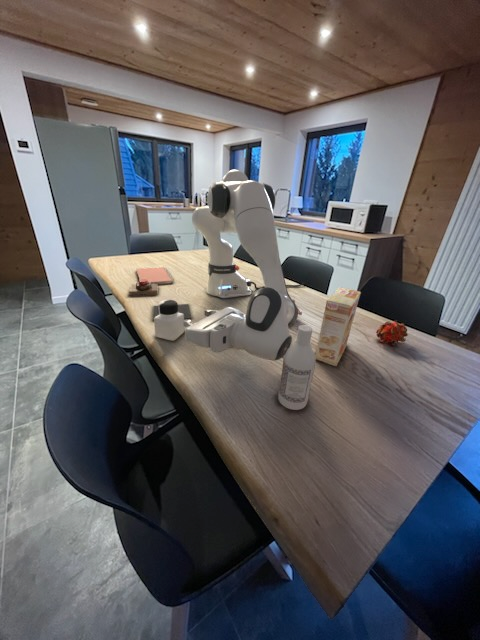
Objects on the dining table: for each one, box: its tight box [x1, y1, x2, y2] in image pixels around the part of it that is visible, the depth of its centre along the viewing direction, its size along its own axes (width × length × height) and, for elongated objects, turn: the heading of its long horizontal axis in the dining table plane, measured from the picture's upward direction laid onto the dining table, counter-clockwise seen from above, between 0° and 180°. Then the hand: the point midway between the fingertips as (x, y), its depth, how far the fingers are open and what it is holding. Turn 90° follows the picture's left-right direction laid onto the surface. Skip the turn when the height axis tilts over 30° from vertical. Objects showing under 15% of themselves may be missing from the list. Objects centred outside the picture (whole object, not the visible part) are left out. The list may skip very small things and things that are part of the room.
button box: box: [128, 281, 159, 297], centre depth 125 cm, size 12×10×4 cm
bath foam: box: [277, 324, 316, 411], centre depth 60 cm, size 7×7×20 cm
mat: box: [152, 303, 192, 322], centre depth 106 cm, size 14×14×1 cm
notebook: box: [136, 266, 175, 285], centre depth 146 cm, size 27×17×2 cm, turn 24°
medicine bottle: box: [153, 299, 185, 342], centre depth 88 cm, size 7×7×12 cm
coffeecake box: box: [314, 287, 362, 367], centre depth 81 cm, size 15×7×20 cm, turn 148°
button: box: [138, 279, 148, 285], centre depth 123 cm, size 4×4×2 cm
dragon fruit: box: [375, 320, 408, 346], centre depth 92 cm, size 8×8×12 cm
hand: (195, 317), depth 80 cm, fingers open, 8 cm apart
